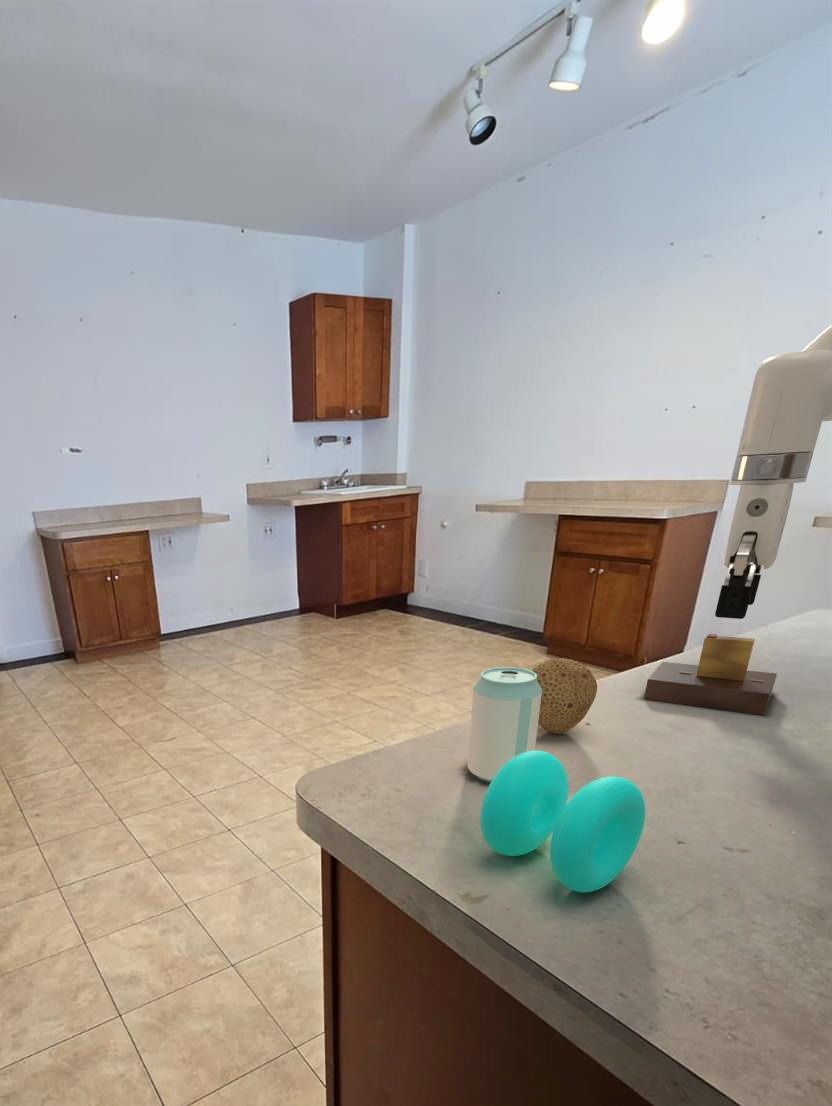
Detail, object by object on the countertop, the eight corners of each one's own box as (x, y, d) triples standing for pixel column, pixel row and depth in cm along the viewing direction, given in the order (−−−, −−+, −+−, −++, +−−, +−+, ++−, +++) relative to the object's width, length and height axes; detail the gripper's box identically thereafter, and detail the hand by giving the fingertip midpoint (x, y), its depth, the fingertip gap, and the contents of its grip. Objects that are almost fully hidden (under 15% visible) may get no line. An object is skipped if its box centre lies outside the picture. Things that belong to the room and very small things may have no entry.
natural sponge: (522, 746, 80) (531, 670, 76) (506, 721, 88) (513, 651, 84) (599, 745, 79) (612, 667, 75) (575, 719, 87) (585, 648, 83)
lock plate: (771, 693, 90) (777, 672, 89) (764, 715, 84) (770, 692, 82) (658, 680, 99) (662, 660, 98) (643, 699, 92) (647, 678, 91)
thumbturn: (745, 677, 88) (755, 636, 86) (743, 681, 87) (754, 640, 85) (698, 672, 92) (707, 633, 89) (696, 675, 91) (705, 636, 88)
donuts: (538, 827, 63) (550, 733, 59) (640, 872, 55) (662, 768, 51) (469, 862, 58) (477, 764, 54) (569, 917, 51) (588, 807, 46)
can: (456, 765, 77) (462, 669, 72) (509, 757, 78) (519, 661, 73) (487, 790, 70) (496, 687, 65) (544, 781, 72) (558, 678, 67)
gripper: (804, 471, 70) (762, 626, 77) (812, 466, 82) (775, 601, 89) (723, 475, 75) (690, 620, 82) (741, 469, 86) (711, 597, 94)
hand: (734, 610), depth 85 cm, fingers open, 9 cm apart
